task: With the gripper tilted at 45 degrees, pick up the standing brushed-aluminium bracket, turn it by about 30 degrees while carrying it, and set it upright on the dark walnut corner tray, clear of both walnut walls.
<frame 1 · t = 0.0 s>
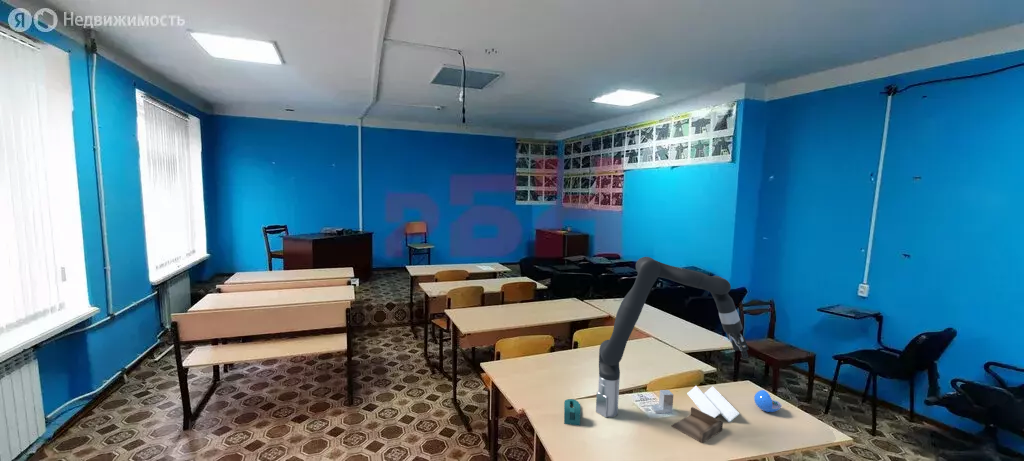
hand: (741, 353, 177), 31 cm above the table, tool tilted 20°, fingers open, 8 cm apart
aluminium bracket: (665, 410, 187), on the table
z bracket: (711, 408, 192), on the table
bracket: (571, 414, 183), on the table
walnut corner tray: (696, 428, 174), on the table
blue rounded hollow shell: (766, 410, 190), on the table
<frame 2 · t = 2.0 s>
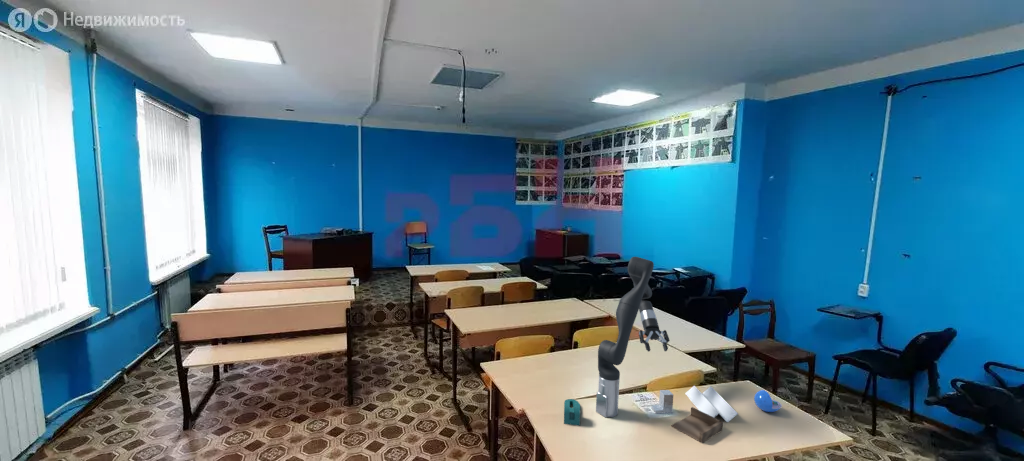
hand: (657, 350, 196), 24 cm above the table, tool tilted 45°, fingers open, 8 cm apart
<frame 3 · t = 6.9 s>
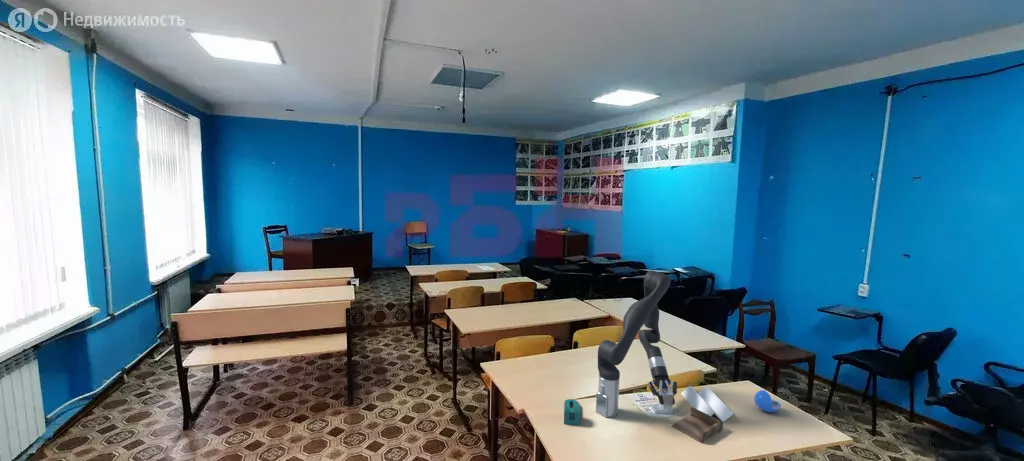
hand: (667, 404, 185), 4 cm above the table, tool tilted 45°, fingers closed on aluminium bracket, 4 cm apart
aluminium bracket: (665, 410, 187), on the table, touching gripper
z bracket: (705, 407, 192), on the table
everything else where it was.
when the fingers open (6 cm above the table, at t = 12.3 s): aluminium bracket drops 1 cm, resting on walnut corner tray.
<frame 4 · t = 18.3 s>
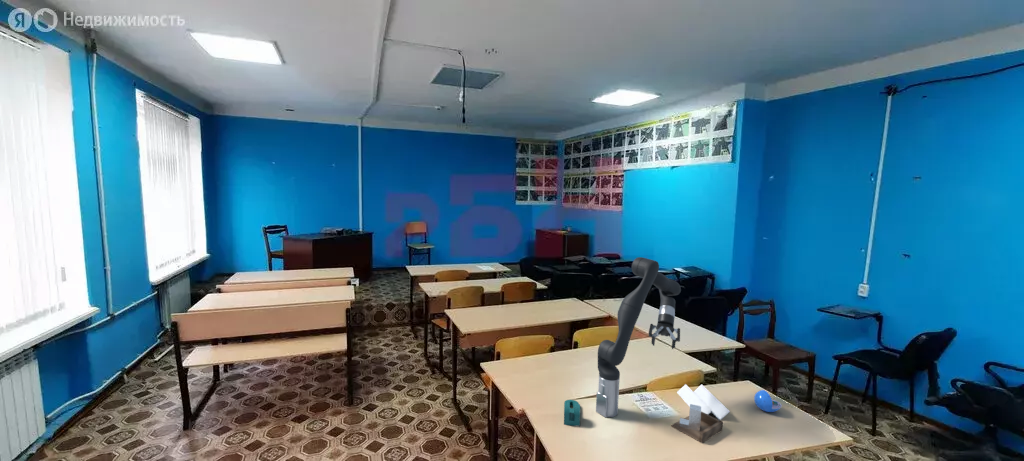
hand: (662, 346, 191), 29 cm above the table, tool tilted 45°, fingers open, 8 cm apart
aluminium bracket: (694, 427, 174), resting on walnut corner tray
z bracket: (701, 406, 193), on the table
everything else where it was.
at the end: aluminium bracket 1.1 cm from the target spot on the walnut corner tray, point 0.5 cm above the walnut corner tray's base; aluminium bracket tilted 0°; the gripper is holding nothing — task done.
